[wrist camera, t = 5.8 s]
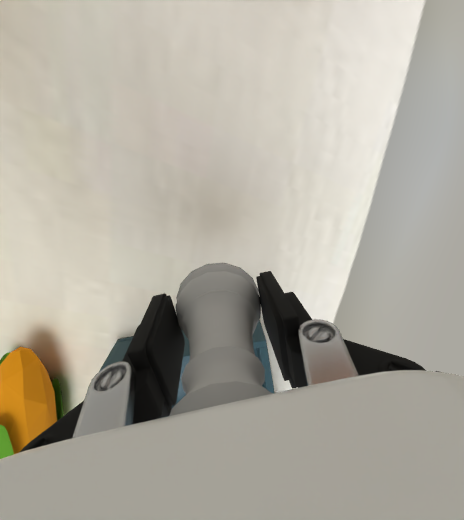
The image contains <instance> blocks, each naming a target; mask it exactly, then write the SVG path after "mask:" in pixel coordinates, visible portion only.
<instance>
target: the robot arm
mask: <svg viewBox="0 0 464 520" xmlns="http://www.w3.org/2000/svg"><path fill="white" fill-rule="evenodd" d="M257 284H258V290H259V296H260V300H261V308H262V314H263V320H264V324H265V327H266V330H267V333H268V336H269V339H270V342H271V344H272V347H273V350H274V353H275V356H276V358H277V361H278V364H279V367H280V370H281V373H282V375H283V378H284V380H285V381H286V380H289V381H290V384H291V387H292V388H296V389H291V390H287V391H282V392H277V393H273V394H268V395H263V396H259V397H254V398H249V399H245V400H240V401H236V402H231V403H227V404H222V405H218V406H213V407H208V408H204V409H199V410H195V411H190V412H186V413H181V414H177V415H172V416H169V415H170V413H171V410H172V406H173V405H176V402H177V395H178V388H179V381H180V374H181V367H182V360H183V353H184V347H185V339H184V335H183V332H182V329H181V328H180V326H179V324H178V319H177V315H176V312H175V309H174V306H173V303H172V300H171V297H170V296H166V294H161V295H156V296H153V298H152V300H151V302H150V304H149V307H148V309H147V311H146V313H145V315H144V318H143V320H142V322H141V324H140V325H139V326H138V328H137V330H136V332H135V334H134V336H133V339H132V341H131V343H130V345H129V347H128V349H127V352H126V354H125V356H124V358H123V360H122V362H116V363H113V364H111V365H109V366H107V367H105V368H104V369H102V370H101V371H100V372H99V373H97V374H96V375H95V377H94V378H93V379H92V381H91V383H90V385H89V387H88V390H87V394H86V397H85V400H84V401H83V402H82V403H80V404H79V405H78V406H76V407H75V408H74V409H72V410H71V411H70V412H68V413H67V414H66V415H65V416H63V417H62V418H61V419H59V420H58V421H57V422H55V423H54V424H53V425H51V426H50V427H49V428H48V429H46V430H45V431H44V432H42V433H41V434H40V435H38V436H37V437H36V438H34V439H33V440H32V441H31V442H29V443H28V444H27V445H26V446H25V447H24V448H23V449H22V450H21V451H20V452H19V453H17V454H14V455H11V456H8V457H5V458H2V459H0V520H464V377H463V376H459V375H454V374H449V373H443V372H438V371H436V372H433V371H426V370H425V369H424V368H423V367H422V366H420V365H418V364H416V363H415V362H413V361H411V360H408V359H406V358H402V357H399V356H396V355H393V354H389V353H386V352H383V351H380V350H377V349H373V348H370V347H367V346H364V345H360V344H357V343H354V342H351V341H347V340H344V339H343V338H342V336H341V333H340V331H339V330H338V328H337V327H336V326H335V325H334V324H332V323H330V322H328V321H325V320H312V319H311V317H310V316H309V314H308V313H307V311H306V310H305V309H304V307H303V306H302V304H301V303H300V301H299V300H298V298H297V297H296V295H295V294H294V293H293V292H289V293H284V292H283V290H282V289H281V287H280V286H279V284H278V282H277V281H276V279H275V277H274V276H273V274H272V272H271V271H268V272H264V273H260V276H258V277H257ZM297 387H298V388H297ZM166 416H168V417H166ZM161 417H164V418H161Z"/></svg>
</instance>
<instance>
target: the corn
mask: <svg viewBox="0 0 464 520" xmlns="http://www.w3.org/2000/svg"><path fill="white" fill-rule="evenodd" d="M62 417H63V405H62V396H61V389H60V383H59V381H58V379H56V378H54V379H53V380H52V383H51V380H50V378H49V375H48V372H47V369H46V368H45V366H44V365H43V364H42V362H41V361H40V359H39V358H38V357H37V356H36V354H35V353H34V352H33V351H32V350H31V349H29V348H24V347H19V348H17V349H16V350H14V351H12V352H11V353H6V354H5V355H4V356H3V357H2V359H1V360H0V459H2V458H5V457H8V456H11V455H14V454H17V453H19V452H20V451H21V450H22V449H23V448H24V447H25V446H26V445H27V444H28V443H29V442H31V441H32V440H33V439H34V438H36V437H37V436H38V435H40V434H41V433H42V432H44V431H45V430H46V429H48V428H49V427H50V426H51V425H53V424H54V423H55V422H57V421H58V420H59V419H61V418H62Z"/></svg>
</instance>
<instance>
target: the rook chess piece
mask: <svg viewBox="0 0 464 520" xmlns="http://www.w3.org/2000/svg"><path fill="white" fill-rule="evenodd" d="M176 312H177V319H178V324H179V326H180V328H181V329H182V330H183V332H184V334H185V336H186V337H187V338H188V340H189V349H190V360H189V363H188V364H187V365H186V366H185V369H184V372H183V374H182V377H181V380H182V386H183V391H184V392H185V393H186V395H185V396H184V397H183V398H182V399H181V400H180V401H179V402H178V403H177V404H176V405H175V406H174V407H173V408H172V410H171V413H170V415H169V416H172V415H177V414H181V413H186V412H190V411H195V410H199V409H204V408H208V407H213V406H218V405H222V404H227V403H231V402H236V401H240V400H245V399H249V398H254V397H259V396H263V395H268V394H273V393H271V392H270V391H268V390H267V389H265V388H264V387H262V385H263V383H264V381H265V369H264V367H263V365H262V363H261V362H260V360H259V358H258V357H256V356H255V353H254V349H253V333H254V331H255V329H256V326H257V323H258V321H259V319H260V315H261V300H260V297H259V290H258V288H257V286H256V284H255V282H254V280H253V278H252V277H251V276H250V275H249V274H247V273H246V272H245V271H244V270H242V269H241V268H240V267H236V266H233V265H230V264H226V263H216V264H206V265H204V266H202V267H200V268H198V269H196V270H194V271H192V272H191V273H190V274H189V275H188V276H187V277H186V278H185V279H184V281H183V282H182V283H181V285H180V288H179V291H178V294H177V304H176Z"/></svg>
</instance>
